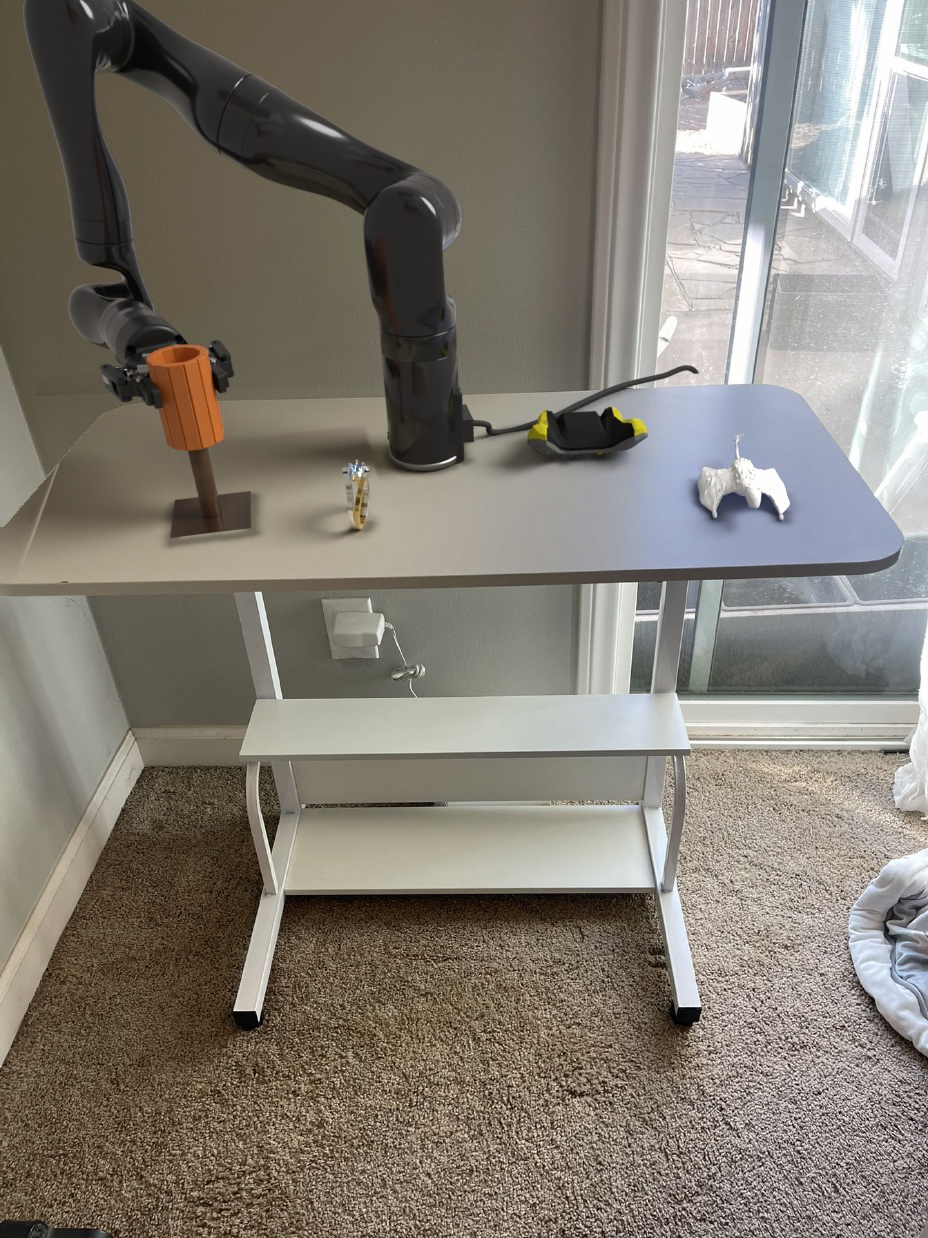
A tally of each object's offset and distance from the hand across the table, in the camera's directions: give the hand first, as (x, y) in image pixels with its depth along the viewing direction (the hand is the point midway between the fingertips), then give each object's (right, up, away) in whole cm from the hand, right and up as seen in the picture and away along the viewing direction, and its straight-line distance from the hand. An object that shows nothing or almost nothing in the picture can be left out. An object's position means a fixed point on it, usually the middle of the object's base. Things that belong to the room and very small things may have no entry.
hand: (190, 391), depth 97 cm
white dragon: (+62, -9, +13) cm, 64 cm away
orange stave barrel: (-1, -4, +5) cm, 7 cm away
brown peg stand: (-1, -12, +12) cm, 17 cm away
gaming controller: (+44, -2, +23) cm, 50 cm away
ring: (+17, -13, +9) cm, 24 cm away
